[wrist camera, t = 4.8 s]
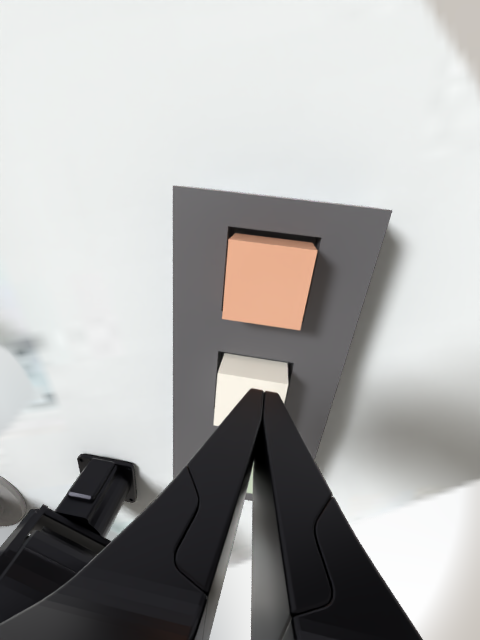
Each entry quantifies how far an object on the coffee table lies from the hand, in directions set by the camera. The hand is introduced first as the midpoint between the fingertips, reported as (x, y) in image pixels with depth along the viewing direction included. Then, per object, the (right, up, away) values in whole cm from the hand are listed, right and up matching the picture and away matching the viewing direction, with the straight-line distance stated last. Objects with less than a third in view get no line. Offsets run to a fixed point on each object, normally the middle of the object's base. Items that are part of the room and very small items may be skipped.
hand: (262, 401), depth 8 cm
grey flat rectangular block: (+1, -1, +16) cm, 16 cm away
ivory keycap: (0, -2, +13) cm, 13 cm away
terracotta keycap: (+1, +5, +9) cm, 11 cm away
